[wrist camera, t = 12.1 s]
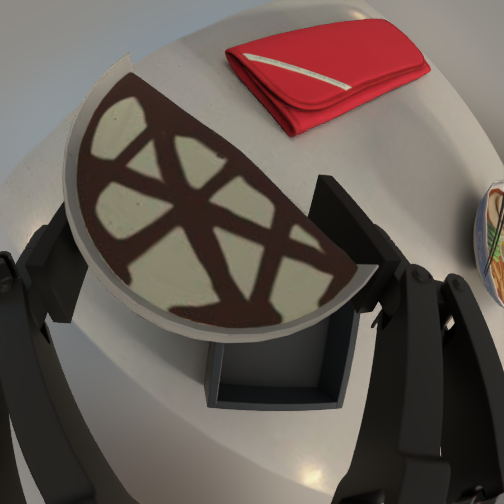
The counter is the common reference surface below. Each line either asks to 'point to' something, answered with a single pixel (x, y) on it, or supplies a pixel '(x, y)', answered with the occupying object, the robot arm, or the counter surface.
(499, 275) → the ramen bowl
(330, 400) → the bin
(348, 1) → the counter surface
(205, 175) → the halved ice cream tub
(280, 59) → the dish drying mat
